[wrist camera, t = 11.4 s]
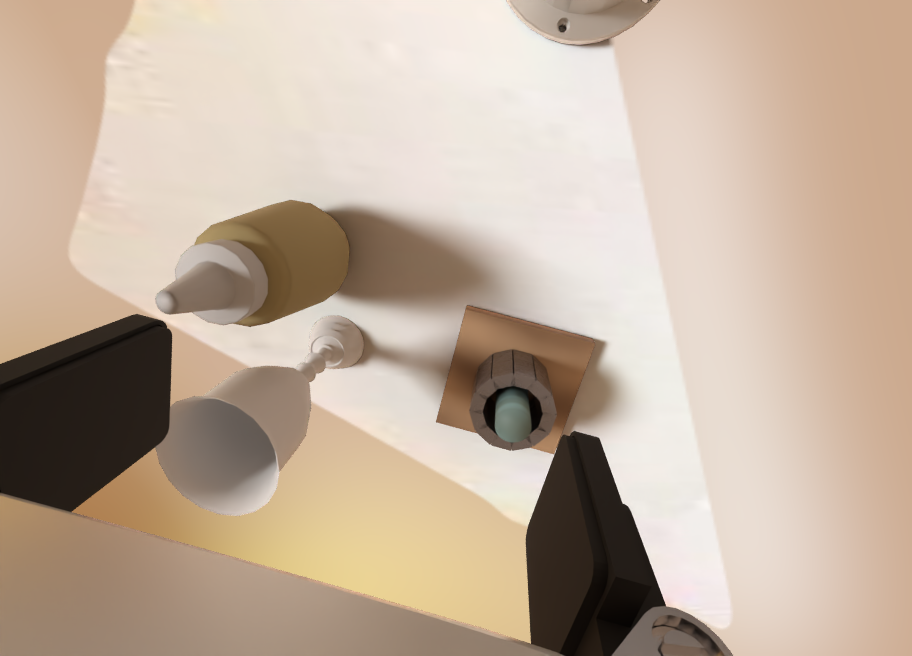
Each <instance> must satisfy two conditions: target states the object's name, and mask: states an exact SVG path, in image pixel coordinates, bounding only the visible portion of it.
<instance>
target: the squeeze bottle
mask: <svg viewBox="0 0 912 656" xmlns="http://www.w3.org/2000/svg"><path fill="white" fill-rule="evenodd" d="M349 251H350V246H349V243H348V239H347V236H346V233H345V232H344V231H343V229H342V228H341V227H340V225H339V224H338V223H337V222H336V221H335V220H334V219H333V218H332V217H331V216H330V215H328V214H327V213H325V212H324V211H322V210H321V209H319V208H317V207H316V206H314V205H313V204H311V203H305V202H299V201H294V200H289V201H285V202H281V203H277V204H273V205H270V206H267V207H264V208H261V209H258V210H255V211H252V212H249V213H246V214H243V215H240V216H237V217H234V218H231V219H228V220H226V221H223V222H220V223H217V224H214V225H211V226H210V227H209V228H208V229H207V230H206V231H204V232H203V233H202V234H201V235H200V236H199V237H198V238H197V240H196V242H195V245H193V246H191V247H190V248H189V249H188V250H186V251H185V252H184V253H183V254H182V255H181V256H180V259H179V261H178V264H177V266H176V269H175V277H176V280H175V281H174V282H173V283H171V284H170V285H168V286H167V287H166V288H164V289H163V290H161V291H160V292H159V293H158V294H157V295H156V298H155V300H156V305H157V307H158V308H159V309H160V310H161V311H162V312H164V313H165V314H179V313H189V312H192V313H193V314H195V315H196V316H198V317H200V318H201V319H203V320H205V321H206V322H209V323H214V324H219V325H227V324H232V323H233V324H238V325H243V326H248V327H251V326H256V325H261V324H266V323H270V322H272V321H275V320H277V319H280V318H282V317H285V316H288V315H290V314H293V313H295V312H298V311H300V310H303V309H305V308H308V307H310V306H313V305H316V304H318V303H321V302H323V301H325V300H326V299H327V298H329V297H330V296H332V295H333V294H334V293H336V292H337V291H338V290H339V288H340V287H341V285H342V283H343V281H344V279H345V277H346V276H347V274H348V263H349Z"/></svg>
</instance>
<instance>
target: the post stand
mask: <svg viewBox="0 0 912 656" xmlns="http://www.w3.org/2000/svg"><path fill="white" fill-rule="evenodd" d="M594 346H595V342H594V340H593V339H592V338H588V337H584V336H580V335H577V334H573V333H569V332H565V331H562V330H558V329H554V328H550V327H547V326H543V325H539V324H535V323H532V322H528V321H524V320H520V319H517V318H513V317H509V316H505V315H502V314H498V313H494V312H490V311H487V310H483V309H479V308H475V307H472V306H468V305H467V307H466V310H465V314H464V318H463V321H462V325H461V329H460V333H459V337H458V340H457V344H456V348H455V352H454V355H453V359H452V363H451V367H450V371H449V374H448V378H447V382H446V386H445V390H444V393H443V397H442V401H441V405H440V409H439V412H438V416H437V420H436V422H438V423H441V424H445V425H449V426H452V427H456V428H460V429H463V430H467V431H471V432H474V433H477V432H476V431H475V430H474V426H473V423H472V420H471V416H470V413H469V409H470V402H471V396H472V390H473V383H474V380H475V376H476V373H477V369H478V367H479V365H480V364H481V363H483V362H484V361H485V360H486V359H487V358H488V357H489V356H490V355H491V354H493V353H496V352H501V351H505V350H510V349H512V351H513V349H515V350H519V351H523V352H526V353H530V354H532V355H534V356H535V357H536V358H537V359H538V360H539V361H540V362H541V363H542V364H543V365H544V366H545V367H546V369H547V372H548V377H549V381H550V385H551V389H552V394H553V398H554V403H555V408H556V412H557V416H556V419H555V422H554V424H553V427H552V430H551V432H550V433H549V435H548V436H547V437H545V438H544V439H543V440H541V441H540V442H539V443H538V444H536V445H535V446H533V445H532V447H530V448H533V449H537V450H540V451H544V452H548V453H551V454H554V453H555V450H556V448H557V445H558V442H559V440H560V437H561V434H562V431H563V429H564V426H565V423H566V421H567V418H568V415H569V413H570V410H571V407H572V405H573V402H574V399H575V397H576V394H577V391H578V389H579V386H580V383H581V381H582V378H583V375H584V373H585V370H586V367H587V365H588V362H589V359H590V357H591V354H592V351H593V349H594ZM489 397H490V398H491V399H492V400H494V401H495V402H496V411H495V430H496V433H497V434H498V436H499V437H500V438H501V439H503V440H505V441H507V442H520V441H522V440H524V439H526V438H527V437H528V435H529V434H530V432H531V417H530V408H529V402H530V401H531V400H532V399H533V398H534V397H535V396H534V395H533V394H532V393H531V392H530V391H529V390H527V389H524V388H520V387H516V386H510V387H505V388H500V389H497V390H496V391H495V392H494V393H493V394H491V395H490V396H489Z"/></svg>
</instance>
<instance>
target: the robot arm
mask: <svg viewBox="0 0 912 656" xmlns="http://www.w3.org/2000/svg"><path fill="white" fill-rule="evenodd" d="M506 1H507V3H508V4H509V6H510V7H511V8H512V10H513V11H514V13H515V14H516V15H517V17H518V18H519V19H520V20H521V21H522V22H524V23H525V24H526V25H527V26H528V27H529V28H530V29H531V30H533V31H535V32H536V33H538V34H540V35H542V36H543V37H545V38H547V39H551V40H554V41H557V42H560V43H565V44H577V45H582V44H589V43H597V42H600V41H603V40H606V39H609V38H612V37H615V36H617V35H619V34H620V33H622V32H624V31H626V30H627V29H629V28H631V27H633V26H634V25H635V24H636V23H637V22H638V21H639V20H641V19H642V18H643V17H645V16H646V15H647V14H648V13H649V12H650V11H651V10H652V9H653V7H655V5H656V4H657V3H658V2H659V1H660V0H648V2H647V3H644V2H643V1H642V0H506ZM561 25H563V26H565V28H566V31H565V32H560V31H559V27H560V26H561ZM171 358H172V333H171V331H170V330H169V329H167V326H166V324H165V323H164V322H163V321H161V320H157V319H154V318H150V317H146V316H143V315H138V314H135V315H131V316H129V317H126V318H123V319H120V320H118V321H115V322H112V323H110V324H107V325H104V326H102V327H99V328H96V329H93V330H91V331H88V332H85V333H83V334H80V335H77V336H75V337H72V338H69V339H66V340H64V341H61V342H59V343H56V344H53V345H50V346H48V347H45V348H42V349H40V350H37V351H34V352H31V353H29V354H26V355H23V356H21V357H18V358H15V359H13V360H10V361H7V362H5V363H2V364H0V656H733V655H732V653H731V652H730V650H729V649H728V648H727V647H726V645H725V644H724V643H723V641H722V640H721V639H720V638H719V637H718V636H717V635H716V634H715V633H714V632H713V631H712V630H710V628H708V627H707V626H706V625H705V624H704V623H702V622H701V621H699V620H698V619H696V618H695V617H693V616H692V615H690V614H688V613H685V612H683V611H681V610H679V609H676V608H671V607H666V604H665V602H664V599H663V596H662V594H661V591H660V588H659V586H658V583H657V580H656V578H655V575H654V572H653V570H652V567H651V564H650V561H649V559H648V556H647V553H646V551H645V548H644V545H643V543H642V540H641V537H640V535H639V532H638V529H637V527H636V524H635V521H634V518H633V516H632V513H631V511H630V509H629V507H628V506H626V505H625V504H622V501H621V498H620V495H619V492H618V489H617V487H616V484H615V481H614V478H613V475H612V473H611V470H610V467H609V464H608V461H607V459H606V456H605V453H604V450H603V447H602V444H601V442H600V439H599V438H598V437H594V436H591V435H587V434H583V433H579V432H576V431H573V432H572V433H571V435H570V436H566V435H563V436H562V437H561V439H560V442H559V444H558V447H557V450H556V453H555V455H554V458H553V461H552V463H551V466H550V469H549V471H548V474H547V477H546V479H545V482H544V485H543V487H542V490H541V493H540V496H539V498H538V501H537V504H536V506H535V509H534V512H533V514H532V517H531V520H530V522H529V525H528V529H527V534H526V557H527V574H528V595H529V612H530V632H531V644H530V643H527V642H524V641H520V640H518V639H514V638H511V637H508V636H505V635H502V634H499V633H496V632H493V631H490V630H487V629H484V628H481V627H477V626H473V625H470V624H466V623H462V622H459V621H456V620H452V619H449V618H446V617H442V616H439V615H435V614H432V613H429V612H425V611H422V610H418V609H414V608H411V607H408V606H404V605H400V604H397V603H394V602H390V601H386V600H383V599H380V598H376V597H373V596H369V595H366V594H362V593H359V592H355V591H352V590H348V589H344V588H341V587H338V586H334V585H331V584H327V583H323V582H320V581H316V580H313V579H310V578H306V577H303V576H299V575H295V574H292V573H288V572H285V571H282V570H278V569H274V568H271V567H267V566H264V565H260V564H257V563H253V562H249V561H246V560H242V559H239V558H235V557H231V556H228V555H224V554H220V553H217V552H214V551H210V550H206V549H203V548H199V547H195V546H192V545H189V544H185V543H181V542H178V541H174V540H171V539H167V538H163V537H160V536H156V535H153V534H148V533H145V532H142V531H138V530H134V529H131V528H127V527H124V526H120V525H116V524H113V523H109V522H105V521H101V520H98V519H94V518H91V517H87V516H83V515H80V514H76V513H72V511H73V510H74V509H76V507H78V506H79V505H81V504H82V503H83V502H84V501H86V500H87V499H88V498H90V497H91V496H92V495H93V494H95V493H96V492H97V491H99V490H100V489H101V488H103V487H104V486H105V485H107V484H108V483H109V482H111V481H112V480H113V479H114V478H116V477H117V476H118V475H120V474H121V473H122V472H124V471H125V470H126V469H127V468H129V467H130V466H131V465H132V464H134V463H135V462H136V461H138V460H139V459H140V458H142V457H143V456H144V455H146V454H147V453H148V452H149V451H151V450H152V449H153V448H155V447H156V446H157V445H159V444H160V443H161V442H162V441H163V440H164V439H165V437H166V435H167V434H168V431H169V425H170V391H171Z"/></svg>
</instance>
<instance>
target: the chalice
mask: <svg viewBox="0 0 912 656" xmlns="http://www.w3.org/2000/svg"><path fill="white" fill-rule="evenodd" d="M309 338H310V340H309V352H310V353H309V354H308V355H307V356H306V358H305V363H304V362H303V363H300V364H298V365H297V367H296V369H294V368H288V367H278V366H261V367H254V368H247V369H244V370H241V371H238V372H235V373H234V374H232V375H231V376H229V377H228V378H227V379H225V380H224V381H223V382H221V383H220V384H218V385H217V386H216V387H214V388H213V389H211V390H210V391H209V392H207V393H206V394H204V395H203V396H193V397H190V398H187V399H184V400H180V401H177V402H175V403H174V404H173V405H172V406H171V407H170V425H169V431H168V434H167V435H166V437H165V439H164V440H163V441H162V442H161V443H160V444H159V445H157V446H156V447H155V448H156V452H157V456H158V459H159V463H160V465H161V467H162V469H163V471H164V472H165V474H166V476H167V478H168V480H169V481H170V482H171V483H172V484H173V485H174V486H175V487H176V489H177V490H178V491H179V492H180V493H181V494H182V495H183V496H184V497H186V498H187V499H189V500H190V501H192V502H193V503H195V504H196V505H198V506H199V507H201V508H203V509H206V510H209V511H212V512H214V513H217V514H222V515H234V516H239V515H243V514H247V513H252V512H255V511H256V510H258V509H259V508H261V507H262V506H264V505H265V504H266V503H268V502H269V500H270V498H271V497H272V495H273V494H274V492H275V490H276V489H277V483H278V477H279V472H280V470H281V469H282V468H283V467H284V465H285V464H286V463H287V461H288V460H289V459H290V457H291V456H292V455H293V454H294V452H295V451H296V450H297V448H298V447H299V446H300V444H301V442H302V441H303V439H304V437H305V436H306V431H307V426H308V421H309V416H310V411H311V397H310V385H309V382H311V381H313V380H314V378H315V375H316V373H321V372H323V371H324V369H325V368H327V369H339V368H346V367H350V366H352V365H353V364H355V363H356V362H358V360H359V359H360V357H361V356H362V353H363V349H364V341H363V337H362V335H361V332H360V330H359V329H358V328H357V326H356V325H355V324H354V323H352V322H351V321H350V320H348V319H347V318H344V317H341V316H326V317H323V318H321V319H320V320H318V321H317V322H316V323H315V324H314V326H313V327H312V329H311V333H310V337H309Z"/></svg>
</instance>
